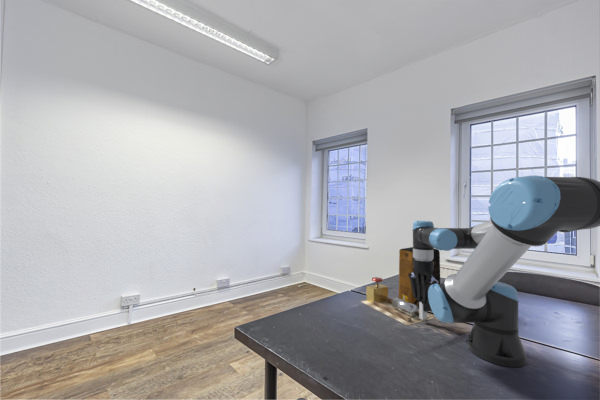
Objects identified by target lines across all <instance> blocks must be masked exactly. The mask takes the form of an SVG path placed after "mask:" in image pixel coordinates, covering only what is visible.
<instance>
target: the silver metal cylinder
mask: <svg viewBox="0 0 600 400" xmlns="http://www.w3.org/2000/svg"><path fill="white" fill-rule="evenodd" d="M392 307H393V308H394V309H396V310H398V311H401V312H403V313H405V314H407V315H409V316H411V317H416V316H417V315H418V311H419V309H418V307H417V306H416V305H414V304H412V303H409V302H407V301H404V300H402V299H399V297H394V298H393V301H392Z"/></svg>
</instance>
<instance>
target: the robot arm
mask: <svg viewBox="0 0 600 400" xmlns="http://www.w3.org/2000/svg"><path fill="white" fill-rule="evenodd" d="M488 203H489V204H490V205H489V206H488V207H487V208H488V209H487V210H488V214H489V220H488V221H485V222H482V223H479V224H476V225H474V226H470V227H435V226H434V223H433V221H430V220H415V221H414V222H413V224H412V247H413V258H415V259H413V268H414V270H413V272H412V273H409V274H408V276H409V278H410V281H411V286H412V292H413V297H414V298H416V299H417V301H418V309H419V318H420V319H422V320H424V319H427V315H428V312H429V307H430V310H431V311H432V313H433V315H434V318H436V319H437V320H438V321H440V322H441V323H445V324H463V323H464V324H465V323H466V324H469V323H472V324H473V325H472V328H471V330H470V332H469V335H468V337H467V348H468V349H469V351H470V352H471V353H472V354H474V355H475V356H477V357H478V358H480V359H483V360H485V361H487V362H489V363H492V364H496V365H498V366H503V367H509V368H521V367H524V366H526V364H527V353H526V351H525V348H524V346H523V342H522V341H521V338H520V335H519V301H520V300H519V299H518V297H519V296H518V291H517V289H516V288H515V287H514V286H512V285H510V284H508V283H505V282H501V281H500V279H502V278H503V277H504V276H505V274H506V273H508V271H509V270H510V269H511V268H512V267H513V266H514V265H515V264H516V263H517V262H518V261H519V260H520V259H521V258H522V256H524V254H526V252H527V251H528V250H529V249H530V248H531V247H542V246H543V245H545V244H547V243H548V241H550V240H551V239H552V238H553V236H555V235H556V234H557V233H558V232H559V233H571V232H575V231H580V230H581V231H582V230H590V229H594V228H597V227H600V181H599V180H596V179H593V178H590V177H584V176H583V177H582V176H581V177H580V176H540V175H525V176H515V177H511V178H508V179H507V180H504V181H502V182H501V183H499V185H497V186H496V187H495V188H494V190H493V191H492V193H491V195H490V197H489V200H488ZM433 249H438V250H439V251H447V252H448V251H451V250H459V249H460V250H465V249H466V250H471V249H472V250H473V251H472V252H471V253H470V254H469V256H468V258H467V259H466V260H465V262H464V263H463V264H462V266H461V267H460V268H459V269H458V271H457V272H456V273H452V274H449V275H448V276H447V277H445V279H444V280H443V282H441V280H440V281H439V280H436V279H435V278H434V275H433V269H434V262H433V259H434V252H433ZM430 281H431V285H430ZM439 283H440V284H439ZM429 286H430V287H429ZM429 304H430V305H429Z"/></svg>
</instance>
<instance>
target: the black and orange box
mask: <svg viewBox="0 0 600 400" xmlns="http://www.w3.org/2000/svg"><path fill="white" fill-rule="evenodd" d="M398 252H399V253H398V255H399V257H398V258H399V259H398V260H399V261H398V264H399V265H398V298H399V299H402V300H404V301H407V302H409V303H412V304H414V305H416V306H417V307H418V301H417V299H416V298H414V297H413V292H412V286H411V281H410V278H409V276H408V274H409V273H412V272H413V270H414V268H413V259H415V258H413V246H411V247H406V248H405V247H403V248H400V249H399V251H398ZM433 252H434V259H433V262H434V269H433V275H434V278H435V279H436V280H439V281H440V283H439V284H441V257H440V256H441V255H440V254H441V252H440V250H438V249H436V248H434V249H433ZM430 285H431V281H430ZM429 287H430V286H429ZM429 306H430V304H429Z"/></svg>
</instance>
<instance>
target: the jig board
mask: <svg viewBox="0 0 600 400" xmlns="http://www.w3.org/2000/svg"><path fill="white" fill-rule="evenodd" d="M393 299H394V298H393ZM393 299H392V298H391V297H388V298H386V302H381V303H380V302H378V301H372V303H371V302H369V301H367V299H366V300H365V299H364V300H360V302H361V303H362V304H365V305H366V306H368V307H371V308H372V309H374V310H376V311H378V312H380V313H382V314H384V315H385V316H388V317H389V318H391V319H394V320H395V321H397V322H400V323H401V324H403V325H405V326H410V325H414V324H417V323H422V322H425V321H428V320H432V319H435V316H431V315H428V314H427V319H424V320H422V319H420V318H419V311H418V315H417V316H416V317H411V316H409V315H407V314H405V313H403V312H401V311H398V310H396V309H394V308H393V307H392V301H393Z"/></svg>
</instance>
